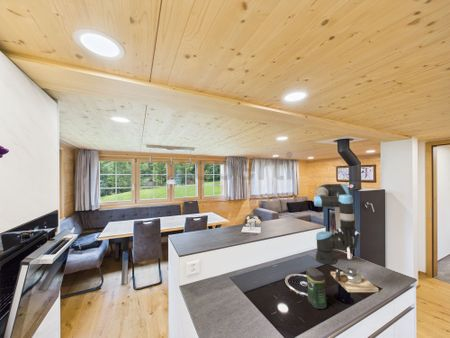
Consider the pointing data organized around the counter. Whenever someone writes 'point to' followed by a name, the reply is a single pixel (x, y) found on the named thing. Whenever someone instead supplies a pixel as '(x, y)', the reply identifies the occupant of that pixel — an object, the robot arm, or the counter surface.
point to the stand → (357, 285)
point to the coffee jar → (316, 288)
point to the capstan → (348, 276)
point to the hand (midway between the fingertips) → (349, 258)
